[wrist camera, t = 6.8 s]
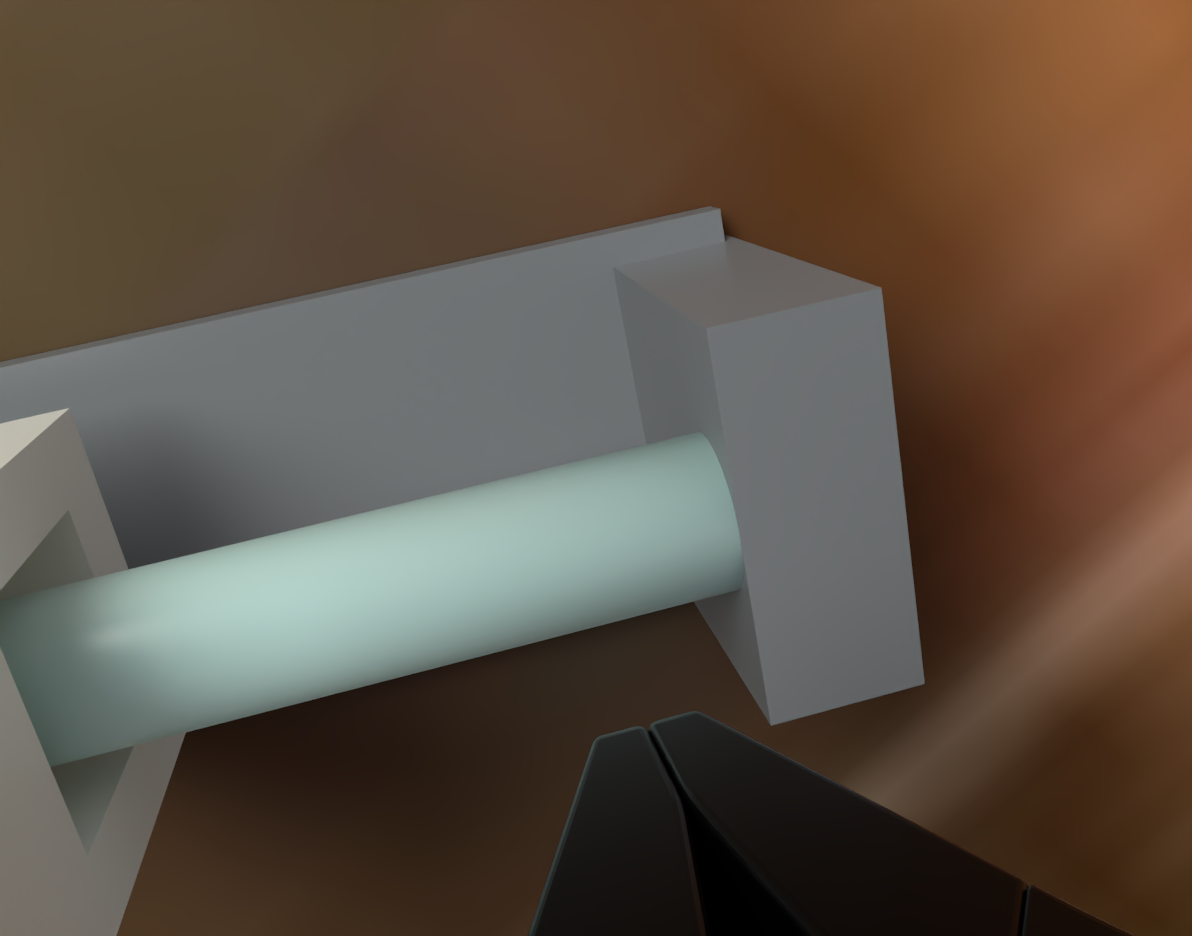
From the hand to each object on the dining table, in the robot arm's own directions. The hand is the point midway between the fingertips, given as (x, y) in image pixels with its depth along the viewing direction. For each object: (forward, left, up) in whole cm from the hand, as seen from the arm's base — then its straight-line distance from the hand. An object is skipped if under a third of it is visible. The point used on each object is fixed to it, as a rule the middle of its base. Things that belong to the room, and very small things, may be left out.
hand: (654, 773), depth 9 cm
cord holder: (+5, 0, -10) cm, 11 cm away
